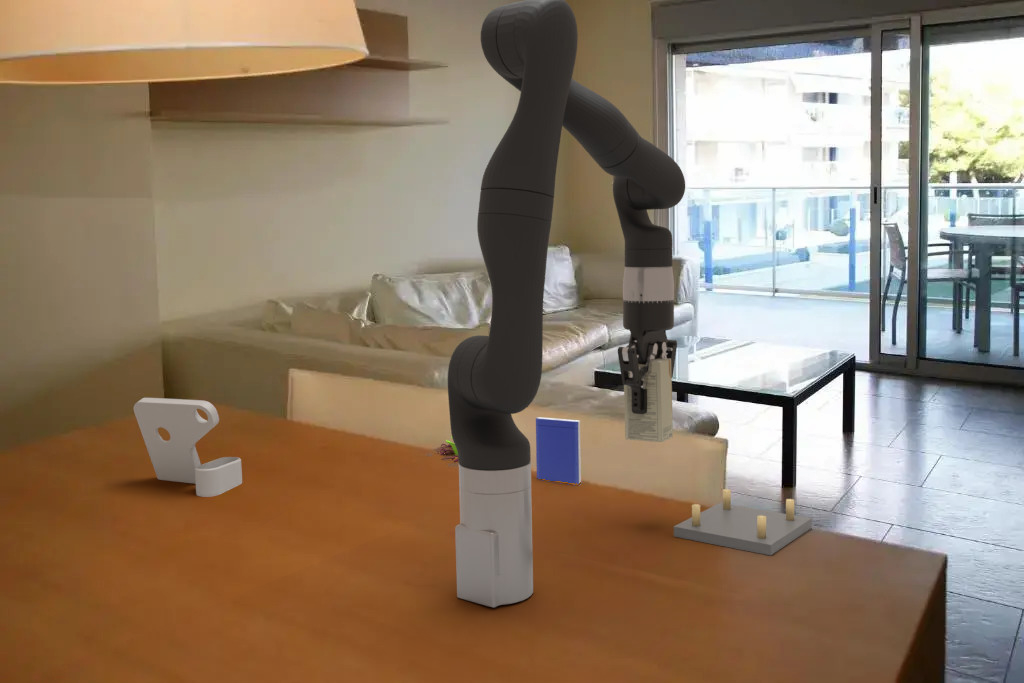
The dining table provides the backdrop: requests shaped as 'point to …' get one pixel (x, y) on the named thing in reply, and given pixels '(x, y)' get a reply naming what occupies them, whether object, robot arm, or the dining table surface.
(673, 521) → the dining table surface
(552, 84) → the robot arm
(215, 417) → the phone holder
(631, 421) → the skincare box
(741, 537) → the standoff plate
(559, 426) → the hard drive
